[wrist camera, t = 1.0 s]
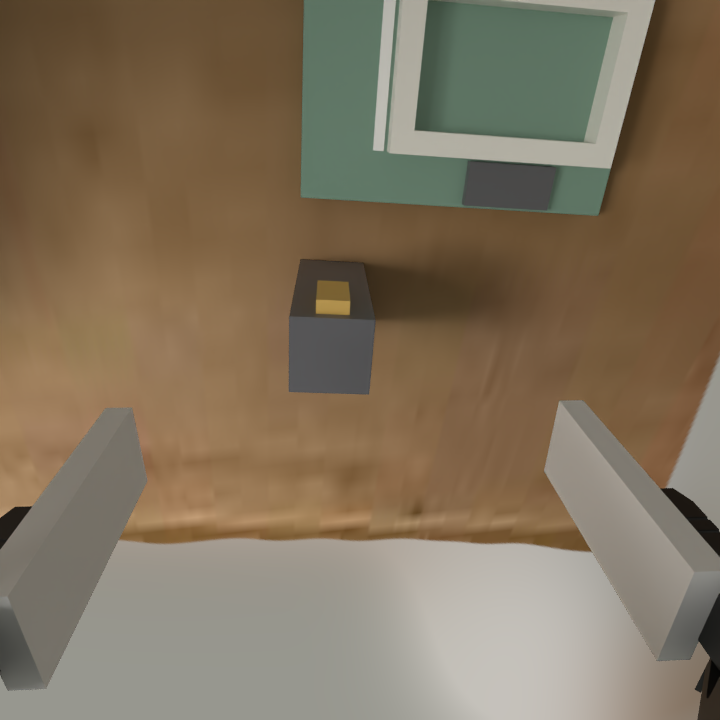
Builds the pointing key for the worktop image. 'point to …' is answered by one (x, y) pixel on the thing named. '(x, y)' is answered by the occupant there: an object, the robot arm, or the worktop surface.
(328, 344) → the plug
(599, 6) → the board
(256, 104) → the worktop surface
